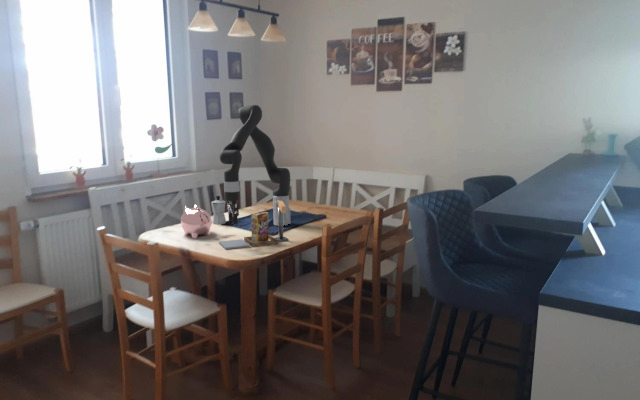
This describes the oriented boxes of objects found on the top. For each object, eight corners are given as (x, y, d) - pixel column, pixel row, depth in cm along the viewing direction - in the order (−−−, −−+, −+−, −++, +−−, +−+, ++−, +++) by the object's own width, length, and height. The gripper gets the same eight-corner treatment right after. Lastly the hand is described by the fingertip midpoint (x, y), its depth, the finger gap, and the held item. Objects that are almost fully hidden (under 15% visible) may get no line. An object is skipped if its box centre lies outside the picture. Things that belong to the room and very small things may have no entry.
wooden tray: (269, 238, 268) (269, 234, 268) (277, 243, 256) (277, 240, 256) (244, 240, 263) (244, 237, 263) (251, 246, 251) (251, 242, 250)
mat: (241, 241, 263) (241, 239, 262) (249, 247, 250) (249, 245, 250) (219, 243, 258) (218, 241, 258) (225, 249, 245) (225, 247, 245)
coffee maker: (220, 228, 294) (219, 197, 291) (207, 227, 297) (205, 197, 294) (232, 223, 308) (231, 194, 305) (220, 222, 311) (218, 193, 308)
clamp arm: (276, 205, 262) (276, 200, 262) (283, 205, 263) (282, 199, 262) (280, 212, 242) (280, 206, 242) (287, 212, 243) (287, 206, 242)
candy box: (257, 244, 255) (256, 215, 252) (251, 243, 257) (250, 214, 255) (269, 241, 262) (268, 212, 260) (262, 240, 264) (262, 211, 262)
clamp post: (284, 238, 268) (283, 205, 265) (288, 240, 262) (287, 207, 260) (273, 239, 265) (272, 206, 263) (277, 242, 260) (276, 208, 257)
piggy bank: (200, 230, 288) (198, 203, 286) (217, 235, 276) (216, 206, 273) (175, 235, 278) (174, 206, 275) (192, 240, 265) (191, 210, 263)
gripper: (243, 191, 244) (244, 224, 247) (235, 188, 257) (236, 219, 260) (227, 192, 242) (229, 225, 244) (221, 189, 254) (222, 220, 257)
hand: (233, 222), depth 252 cm, fingers open, 8 cm apart
